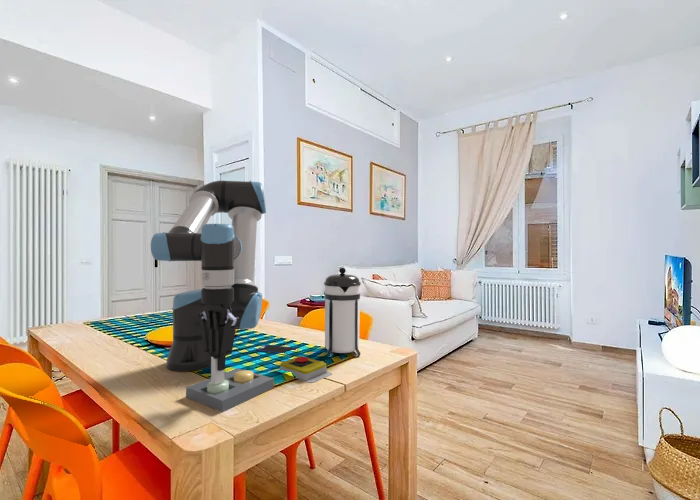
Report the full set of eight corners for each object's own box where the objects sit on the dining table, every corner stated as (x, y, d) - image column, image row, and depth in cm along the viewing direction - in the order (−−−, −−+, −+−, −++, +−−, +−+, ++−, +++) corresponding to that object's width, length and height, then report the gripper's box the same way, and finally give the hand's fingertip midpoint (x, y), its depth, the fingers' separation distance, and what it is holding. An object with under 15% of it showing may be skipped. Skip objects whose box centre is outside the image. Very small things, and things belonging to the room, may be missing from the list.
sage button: (202, 396, 87) (202, 384, 87) (220, 389, 91) (220, 378, 91) (215, 401, 84) (215, 389, 84) (232, 394, 88) (233, 382, 88)
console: (186, 397, 88) (186, 387, 88) (238, 377, 101) (238, 368, 101) (222, 411, 80) (222, 400, 80) (273, 387, 94) (273, 378, 94)
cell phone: (266, 346, 133) (266, 344, 133) (299, 350, 128) (299, 348, 128) (254, 352, 126) (254, 349, 126) (289, 356, 122) (289, 354, 122)
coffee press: (373, 351, 126) (374, 267, 126) (343, 362, 114) (343, 269, 114) (338, 342, 138) (338, 265, 137) (307, 351, 126) (307, 267, 125)
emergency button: (297, 351, 114) (333, 360, 104) (297, 364, 114) (333, 375, 104) (275, 358, 106) (311, 369, 97) (275, 372, 106) (311, 385, 97)
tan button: (229, 385, 94) (229, 374, 94) (244, 379, 98) (244, 369, 98) (242, 390, 91) (242, 378, 91) (257, 383, 95) (257, 372, 95)
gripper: (187, 286, 87) (188, 381, 88) (222, 290, 80) (222, 394, 81) (214, 283, 94) (214, 372, 94) (248, 287, 87) (247, 383, 87)
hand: (217, 382), depth 87 cm, fingers closed
